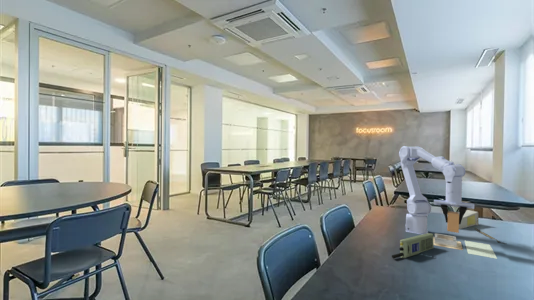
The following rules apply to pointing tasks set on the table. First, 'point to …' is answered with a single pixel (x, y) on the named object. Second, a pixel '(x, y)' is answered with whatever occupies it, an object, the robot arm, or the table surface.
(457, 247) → the base plate
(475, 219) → the block
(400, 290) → the table surface
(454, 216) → the plug
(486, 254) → the mat
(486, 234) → the adjustable wrench
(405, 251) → the handheld radio
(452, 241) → the grey square ring
